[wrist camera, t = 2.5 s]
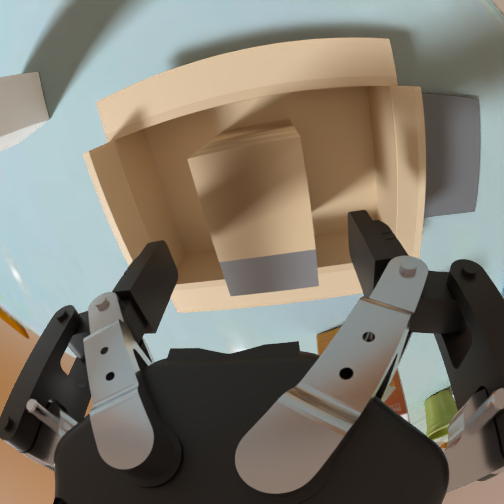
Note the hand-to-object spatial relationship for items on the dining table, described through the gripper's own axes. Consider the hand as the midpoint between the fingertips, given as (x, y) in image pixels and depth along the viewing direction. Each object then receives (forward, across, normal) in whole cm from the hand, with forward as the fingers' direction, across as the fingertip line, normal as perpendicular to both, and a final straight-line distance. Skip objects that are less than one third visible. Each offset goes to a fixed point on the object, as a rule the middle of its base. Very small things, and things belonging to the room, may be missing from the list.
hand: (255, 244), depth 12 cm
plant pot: (+11, -28, +48) cm, 57 cm away
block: (+11, 0, 0) cm, 11 cm away
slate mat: (+11, -16, 0) cm, 19 cm away
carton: (+11, 0, 0) cm, 11 cm away
